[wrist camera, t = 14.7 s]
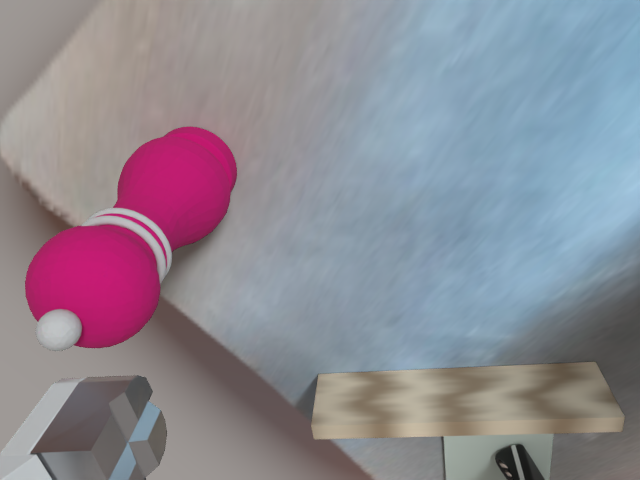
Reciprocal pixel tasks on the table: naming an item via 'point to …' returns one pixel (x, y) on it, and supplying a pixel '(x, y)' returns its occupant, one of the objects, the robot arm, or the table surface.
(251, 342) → the table surface
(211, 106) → the table surface
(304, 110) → the table surface
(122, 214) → the pepper mill
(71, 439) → the robot arm
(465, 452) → the mat
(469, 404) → the wooden plank
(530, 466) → the battery charger
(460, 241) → the table surface
